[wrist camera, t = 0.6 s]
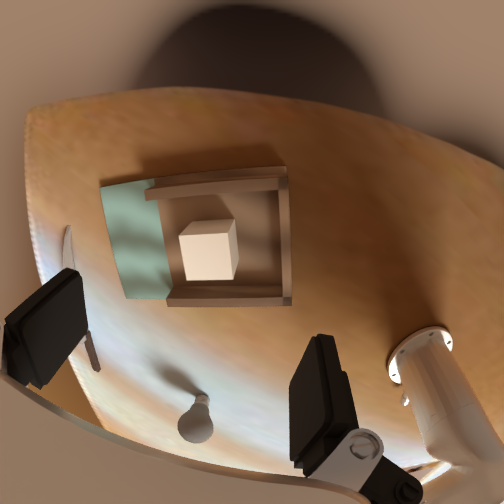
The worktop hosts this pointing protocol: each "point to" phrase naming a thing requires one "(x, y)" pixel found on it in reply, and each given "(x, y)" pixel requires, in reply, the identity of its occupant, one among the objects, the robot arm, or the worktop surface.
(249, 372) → the worktop surface
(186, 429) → the light bulb
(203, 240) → the cream block
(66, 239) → the kitchen knife
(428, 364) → the robot arm
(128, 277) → the walnut cubby
